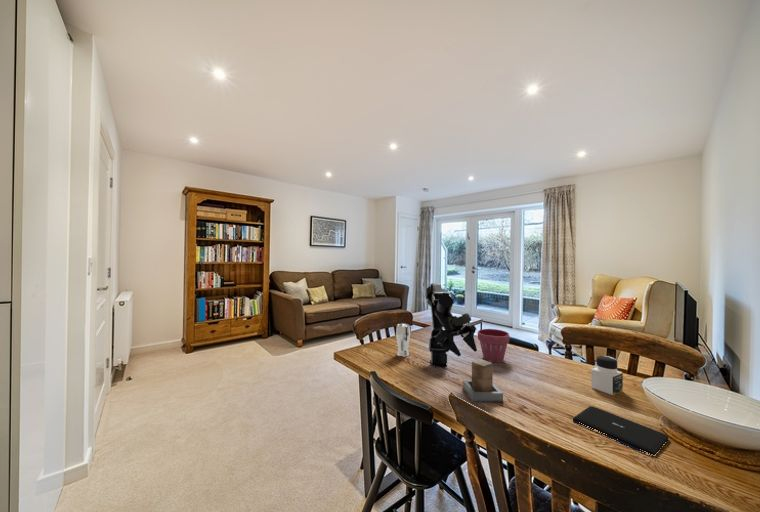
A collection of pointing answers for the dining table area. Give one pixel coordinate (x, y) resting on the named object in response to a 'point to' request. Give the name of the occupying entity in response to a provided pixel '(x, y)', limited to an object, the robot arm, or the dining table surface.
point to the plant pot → (493, 344)
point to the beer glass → (403, 339)
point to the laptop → (622, 430)
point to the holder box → (482, 393)
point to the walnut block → (482, 376)
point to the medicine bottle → (607, 376)
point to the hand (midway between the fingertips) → (468, 353)
